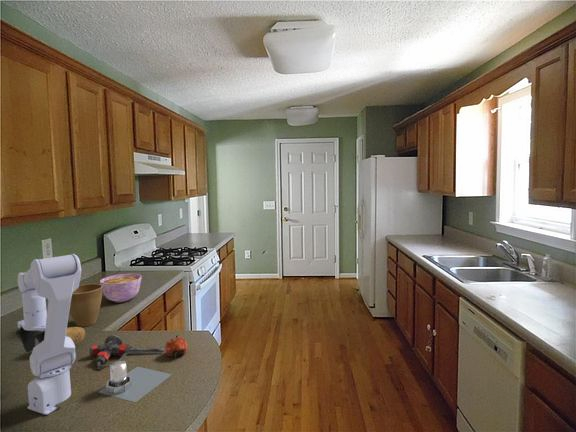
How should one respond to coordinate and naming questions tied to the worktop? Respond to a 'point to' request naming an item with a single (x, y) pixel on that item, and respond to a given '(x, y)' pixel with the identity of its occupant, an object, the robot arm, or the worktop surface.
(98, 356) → the valve
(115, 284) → the bowl of food
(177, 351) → the pomegranate
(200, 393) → the worktop surface
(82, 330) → the potato
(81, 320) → the plant pot
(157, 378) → the mounting plate
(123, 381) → the duct pipe
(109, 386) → the collar
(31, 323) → the robot arm
